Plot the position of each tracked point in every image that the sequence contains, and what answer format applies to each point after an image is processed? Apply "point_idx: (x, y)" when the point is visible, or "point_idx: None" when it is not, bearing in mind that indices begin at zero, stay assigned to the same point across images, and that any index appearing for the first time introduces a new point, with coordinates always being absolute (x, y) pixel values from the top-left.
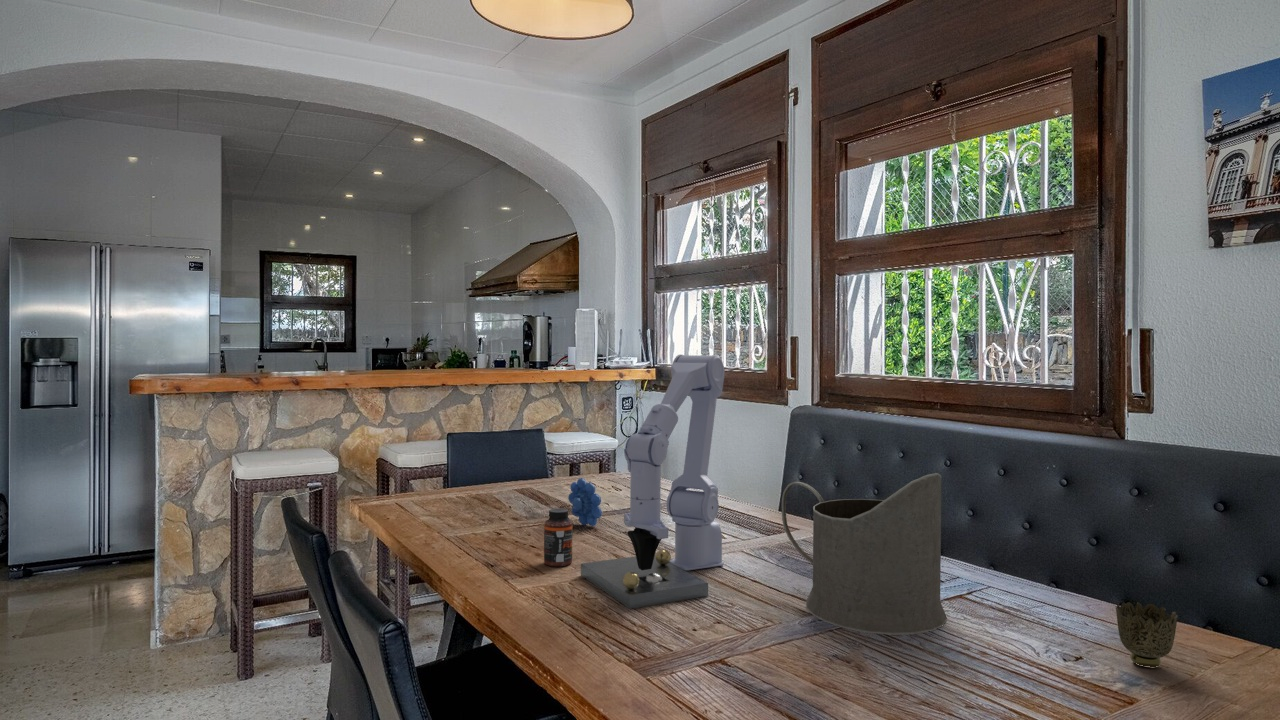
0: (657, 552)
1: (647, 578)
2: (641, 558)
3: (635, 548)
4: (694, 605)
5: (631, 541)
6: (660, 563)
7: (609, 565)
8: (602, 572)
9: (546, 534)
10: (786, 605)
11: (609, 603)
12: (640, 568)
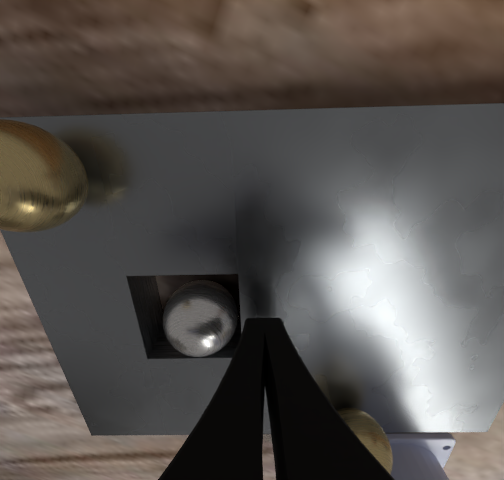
0: (380, 457)
1: (189, 302)
2: (229, 366)
3: (297, 413)
4: (39, 336)
5: (380, 470)
6: (337, 411)
7: (491, 240)
8: (408, 152)
9: None
10: (16, 476)
11: (114, 65)
12: (259, 320)
